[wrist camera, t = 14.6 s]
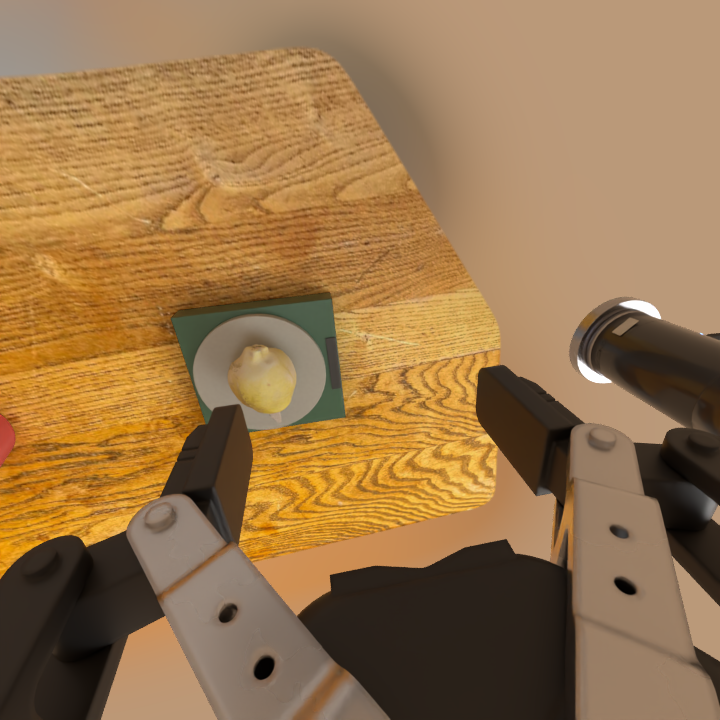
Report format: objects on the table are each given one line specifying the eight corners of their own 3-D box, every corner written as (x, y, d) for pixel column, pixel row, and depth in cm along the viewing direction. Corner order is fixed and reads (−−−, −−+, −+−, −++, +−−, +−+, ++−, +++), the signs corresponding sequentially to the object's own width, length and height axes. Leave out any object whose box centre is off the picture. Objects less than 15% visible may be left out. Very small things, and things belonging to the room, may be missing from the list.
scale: (329, 292, 36) (332, 300, 34) (343, 405, 43) (346, 421, 40) (178, 310, 35) (167, 320, 32) (215, 425, 41) (209, 443, 38)
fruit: (252, 422, 38) (210, 346, 32) (302, 397, 40) (272, 320, 34) (265, 458, 34) (220, 377, 28) (322, 428, 35) (290, 346, 29)
